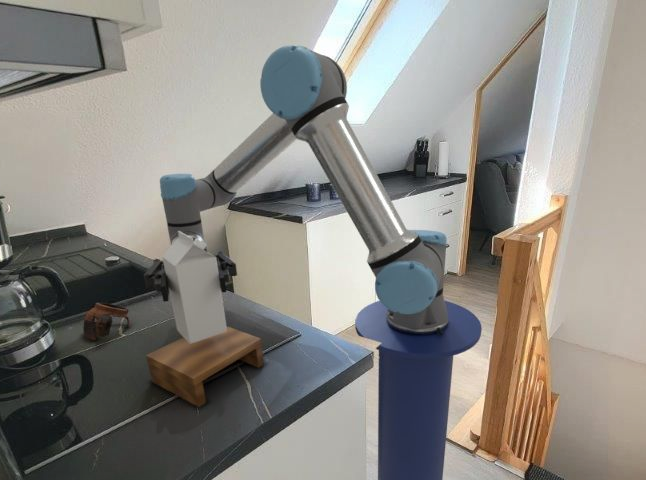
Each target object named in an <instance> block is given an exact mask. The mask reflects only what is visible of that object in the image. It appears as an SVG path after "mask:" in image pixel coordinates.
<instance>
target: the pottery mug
mask: <svg viewBox="0 0 646 480" xmlns="http://www.w3.org/2000/svg"><path fill="white" fill-rule="evenodd" d="M129 311H130V310H129V309H128V308H126V307H124V306H120V305H116V304H112V303H107V302H95V305H94V307H92V308H91V309H90V310H88V311H87V313H86V314H85V317H84V320H83V326H82V329H83V337H84V338H86V339H87V340H92V341H97V336H98V337H100V338H103V337H108V336H109V335H110V332H111V327H112V325H113V324H112V323H113V321H114V320H113V317H115V318H124V319H126V321H127V322H126V327H127V328H129V327H130V326H131V319H130V316H129V315H128V313H129Z"/></svg>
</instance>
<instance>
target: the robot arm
mask: <svg viewBox="0 0 646 480" xmlns="http://www.w3.org/2000/svg"><path fill="white" fill-rule="evenodd" d="M260 76H261V77H260V80H259V81H260V82H259V83H260V84H259V85H260V93H261V97H262V99H263V102H264V104H265V105H266V107H267V109H268V110H269V111H270V112H272V114H270V116H268V117H267V118H266V119H265V120H264V121H263V122H262V123H261V124H260V125H259V126H258V127H257V128H256V129H254V130H253V132H251V134H250V135H249V136H247V137H246V138H245V139H244V140H243V141H242V142H241V143H240V144H239V145H238V146H237V147H235V149H233V151H232V152H231V153H230V154H228V155H227V156H226V157H225V158H224V159H223V160H222V161H221V162H220V163H219V164H218V165H217V166H215V168H214V169H213V170H212V171H210V172H209V174H207V176H205V177H201V178H197V179H195V176H194V175H193V174H191V173H171V174H164V175H162V176H161V177H160V178H159V189H160V197H161V201H162V205H163V210H164V214H165V219H166V225H167V231H168V236H169V241H170V243H169V244H170V246H171V245H172V244H173V243H174V242H175V241H176V240H177V238H178V237H179V235H178V231H180V232H182V233H184V234H186V235H188V236H189V237H191V238H193V241H194V240H195V239H196V238H197V239H198V240H200V241H202V242H204V243H206V242H205V237H204V231H203V229H204V228H203V223H202V216H201V213H202V212H205V211H207V210H212V209H214V208H217V207H222V206H225V205H227V204H229V203H231V202H233V201H234V200H235V199H236V198H237V197H236V196H237V193H238V192H239V191H240V190H241V189H242V188H243V187H244V186H245V185H246V184H248V183H249V182H250V181H251V180H252V179H253V178H255V177H256V176H257V175H258V174H259V173H260V172H262V171H263V170H264V169H265V168H266V167H268V165H269V164H271V163H272V162H273V161H274V160H276V158H278V157H279V156H280V155H281V154H283V152H284V151H285V150H287V149H288V148H289V147H290V146H291V145H293V143H295V142H296V141H298V140H299V141H302V142H305V143H306V144H308V146H309V147H310V149H311V151H312V153H313V155H314V157H315V158H316V160H317V161H318V163H319V165H320V167H321V168H322V170H323V172H324V174H325V176H326V177H327V179H328V181H329V183H330V184H331V186H332V188H333V190H334V191H335V194H336V195H337V196H338V199H339V200H340V202H341V204H342V205H343V207H344V209H345V211H346V212H347V214H348V216H349V218H350V220H351V221H352V224H353V225H354V227H355V229H356V231H357V232H358V234H359V235H360V237H361V239H362V241H363V242H364V244H365V246H366V248H367V250H368V255H367V259H366V263H367V264H368V267H369V268H370V270H371V272H372V274H373V276H374V277H375V282H374V290H375V291H374V292H375V295H376V297H377V299H378V301H380V302H381V303H382V304H383V305H384V306H385V307H386V308H388V310H387V315H386V321H387V324H388V325H389V326H390V327H391V328H392V329H394V330H396V331H398V332H400V333H404V334H408V335H415V336H426V335H433V334H437V333H440V335H443V334H444V333H443V332H442V331H443V330H445V329H446V328H447V326H448V321H449V315H448V311H447V308H446V304H445V301H446V300H445V298H444V284H445V283H444V281H445V271H446V270H445V267H446V255H447V248H448V244H447V236H446V234H445V233H443V232H441V231H437V230H428V229H407V227H406V226H405V223H404V222H403V219H402V218H401V216H400V214H399V213H398V210H397V209H396V207H395V206H394V204H393V202H392V199H391V198H390V196H389V195H388V193H387V190H386V188H385V187H384V185H383V183H382V182H381V179H380V178H379V175H378V174H377V172H376V170H375V168H374V167H373V165H372V163H371V161H370V159H369V158H368V156H367V154H366V151H365V150H364V148H363V146H362V144H361V142H360V141H359V139H358V137H357V135H356V134H355V132H354V130H353V128H352V126H351V124H350V122H349V121H348V112H349V109H350V105H349V103H348V101H347V100H346V98H347V92H348V85H347V84H348V83H347V78H346V75H345V73H344V71H343V69H342V67H341V66H340V65H339V64H338V63H337V61H335V60H334V59H332V58H331V57H329V56H327V55H323V54H321V53H319V52H316V51H314V50H311V49H310V48H309V47H306V46H303V45H292V44H291V45H283V46H280V47H279V48H277V49H275V50H274V51H273V52H271V54H270V55H269V56H268V58H267V59H266V61H265V62H264V64H263V67H262V70H261V75H260ZM204 251H206V252H208V253H209V251H208V249H207V246H206V247H205V249H204ZM214 256H215V257H216V260H217V266H218V273H219V280H220V287H221V293H227V286H226V283H228V282H230V281H231V278H230V276H231V277H237V276H238V270H237V263H236V262H235V260H233V259H231V258H230V257H228V256H227V255H226V254H225V251H223V250H220V251H218V252H217V253H215V255H214ZM152 262H153V263H152V264H151V266H149V268H148V269H147V270H146V272H145V273H144V274H143V278H144V279H143V280H144V283H145V288H146V289H152V288H155V292H157V293H160V292H161V297H162V301H163V302H165V303H166V302H169V298H170V292H169V287H168V282H167V277H166V272H165V268H164V263H163V259H162V260H160V259H159V258H155V259H153V260H152ZM444 300H445V301H444Z"/></svg>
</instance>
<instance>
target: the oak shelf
mask: <svg viewBox="0 0 646 480" xmlns="http://www.w3.org/2000/svg"><path fill="white" fill-rule="evenodd" d="M145 358H146V362H147V365H148V371H149V374H150V377H151V381H152V383H153V384H155V385H157V386H159V387H160V388H163V389H165V390H166V391H168V392H169V393H172V394H174V395H175V396H177V397H179V398H181V399H183V400H185V401H186V402H188V403H191V404H192V405H194V406H196V407H198V408H200V407H201V406H203V405H204V404H206V403H207V399H206V395H205V394H206V393H205V389H204V383H203V381H205V380H207V379H208V378H209V377H211V376H213V375H214V374H216V373H218V372H220V371H221V370H223V369H225V368H226V367H228V366H229V365H231V364H233V363H234V362H237V361H238V360H239V361H241V362H243V363H246V364H249V365H251V366H252V367H253V366H254V367H256V368H260V367H262V366H264V365H265V361H264V352H263V343H262V338H261V337H258V336H255V335H252V334H249V333H246V332H243V331H240V330H238V329H236V328H234V327H233V328H232V327H231V326H227V332H225V333H222V334H219V335H216V336H213V337H210V338H207V339H204V340H201V341H198V342H195V343H192V344H189V343H188V342H187V340H186V339H185V338H184V337H183V336H182V337H181V338H179V339H176V340H174V341H173V342H171V343H169V344H167V345H164V346H162V347H161V348H159V349H156V350H154V351H152V352H150V353H147V354H146V355H145Z"/></svg>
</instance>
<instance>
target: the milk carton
mask: <svg viewBox="0 0 646 480" xmlns="http://www.w3.org/2000/svg"><path fill="white" fill-rule="evenodd" d="M178 235H179V237H178V238H177V240H176V241H175V242H174V243H173V244H172V245H171V244H170V246H169V248H168V249H166V251H165V252H164V253H163V255H162V256H161V258H162V260H163V263H164V268H165V272H166V277H167V282H168V287H169V298H170V301H171V306H172V312H173V316H174V322H175V328H176V330H177V332H178V333H179V334H180V335H181V336H182V338H183V337H184V338H185V339H186V340H187V342H188V343H189V344H192V343H195V342H198V341H201V340H204V339H207V338H210V337H213V336H216V335H219V334H222V333H225V332H227V327H228V326H227V319H226V314H225V307H224V300H223V294H222V291H221V287H220V280H219V273H218V266H217V260H216V257H215V256H216V255H213V254H211V253H209V251H208V252H206V251H204V249H205V247H206V248H207V245H208V244H207V243H206V242H205V243H204V242H202V241H200V240H198V239H197V238H196V239H195V240H194V241H193V238H191V237H189V236H188V235H186V234H184V233H182V232H180V231H178Z"/></svg>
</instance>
